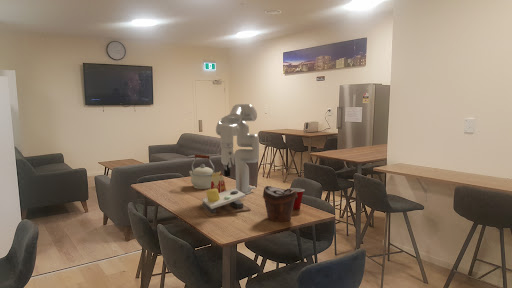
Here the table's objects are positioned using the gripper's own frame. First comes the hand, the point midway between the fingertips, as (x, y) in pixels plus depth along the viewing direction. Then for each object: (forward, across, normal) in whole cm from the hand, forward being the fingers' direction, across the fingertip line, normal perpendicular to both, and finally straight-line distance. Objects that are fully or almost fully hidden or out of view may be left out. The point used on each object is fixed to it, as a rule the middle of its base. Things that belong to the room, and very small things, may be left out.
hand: (227, 175), depth 215 cm
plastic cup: (+21, -14, -40) cm, 47 cm away
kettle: (+21, +66, -4) cm, 69 cm away
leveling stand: (+21, +3, +1) cm, 21 cm away
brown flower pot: (+21, -27, -21) cm, 40 cm away
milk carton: (+21, +23, -2) cm, 31 cm away
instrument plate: (+15, +3, +1) cm, 15 cm away
